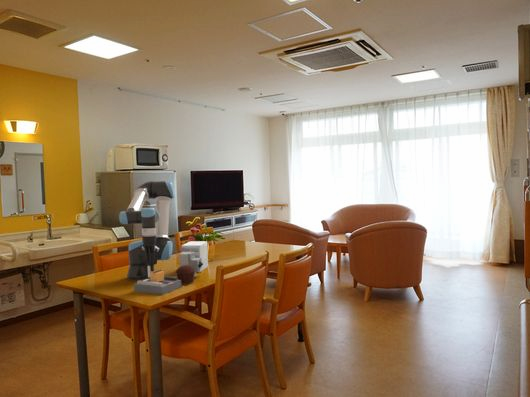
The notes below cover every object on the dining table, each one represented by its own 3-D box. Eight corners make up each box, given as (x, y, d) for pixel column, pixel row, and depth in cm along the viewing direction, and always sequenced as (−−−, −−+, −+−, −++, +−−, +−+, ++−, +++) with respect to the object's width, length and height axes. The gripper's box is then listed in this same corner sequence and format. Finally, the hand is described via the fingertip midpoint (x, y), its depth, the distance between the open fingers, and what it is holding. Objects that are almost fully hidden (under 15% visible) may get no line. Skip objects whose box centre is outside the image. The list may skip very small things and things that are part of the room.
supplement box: (190, 266, 284) (189, 241, 283) (208, 266, 282) (207, 241, 281) (181, 272, 267) (180, 245, 266) (200, 272, 265) (199, 245, 264)
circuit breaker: (200, 278, 249) (199, 254, 248) (178, 277, 252) (178, 254, 251) (204, 275, 256) (203, 252, 255) (183, 274, 259) (182, 251, 258)
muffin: (180, 285, 232) (180, 268, 232) (172, 282, 241) (172, 265, 241) (199, 282, 239) (198, 265, 239) (191, 278, 248) (190, 262, 247)
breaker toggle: (151, 281, 224) (150, 271, 224) (158, 279, 230) (158, 269, 229) (157, 282, 223) (156, 272, 222) (164, 279, 228) (163, 270, 228)
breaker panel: (134, 291, 223) (133, 281, 223) (153, 284, 238) (153, 274, 238) (162, 294, 215) (162, 284, 215) (181, 286, 229) (180, 277, 229)
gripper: (135, 235, 226) (137, 277, 227) (153, 236, 221) (155, 279, 222) (144, 234, 233) (146, 274, 234) (162, 234, 227) (164, 276, 228)
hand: (150, 276), depth 228 cm, fingers closed
